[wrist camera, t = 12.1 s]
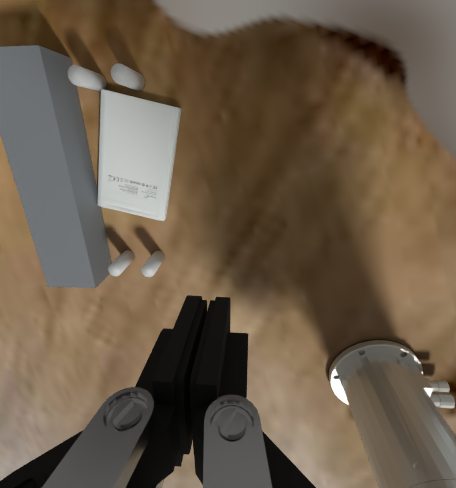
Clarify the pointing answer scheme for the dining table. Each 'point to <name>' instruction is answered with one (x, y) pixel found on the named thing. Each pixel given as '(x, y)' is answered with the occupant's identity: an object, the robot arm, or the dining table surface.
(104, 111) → the external hard drive
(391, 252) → the dining table surface
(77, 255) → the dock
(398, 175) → the dining table surface
